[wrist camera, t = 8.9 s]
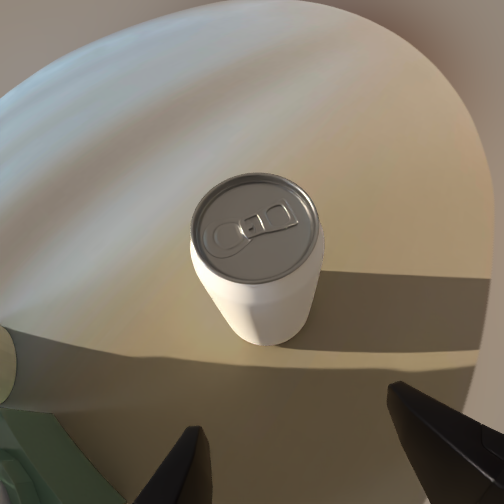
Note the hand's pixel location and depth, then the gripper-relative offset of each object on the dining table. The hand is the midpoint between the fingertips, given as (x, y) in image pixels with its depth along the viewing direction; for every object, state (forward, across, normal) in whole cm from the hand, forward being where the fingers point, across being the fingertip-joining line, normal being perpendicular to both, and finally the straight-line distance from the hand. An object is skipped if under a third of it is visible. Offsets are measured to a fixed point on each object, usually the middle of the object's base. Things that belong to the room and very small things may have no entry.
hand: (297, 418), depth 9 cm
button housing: (+6, +20, +14) cm, 25 cm away
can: (+15, 0, +4) cm, 16 cm away
